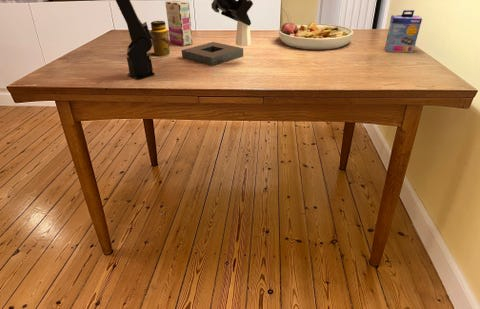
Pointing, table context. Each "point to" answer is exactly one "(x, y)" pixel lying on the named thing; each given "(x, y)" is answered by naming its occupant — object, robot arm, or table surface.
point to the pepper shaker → (243, 34)
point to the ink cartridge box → (403, 32)
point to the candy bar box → (179, 22)
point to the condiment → (160, 40)
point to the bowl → (315, 36)
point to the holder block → (212, 53)
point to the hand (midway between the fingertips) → (246, 23)
